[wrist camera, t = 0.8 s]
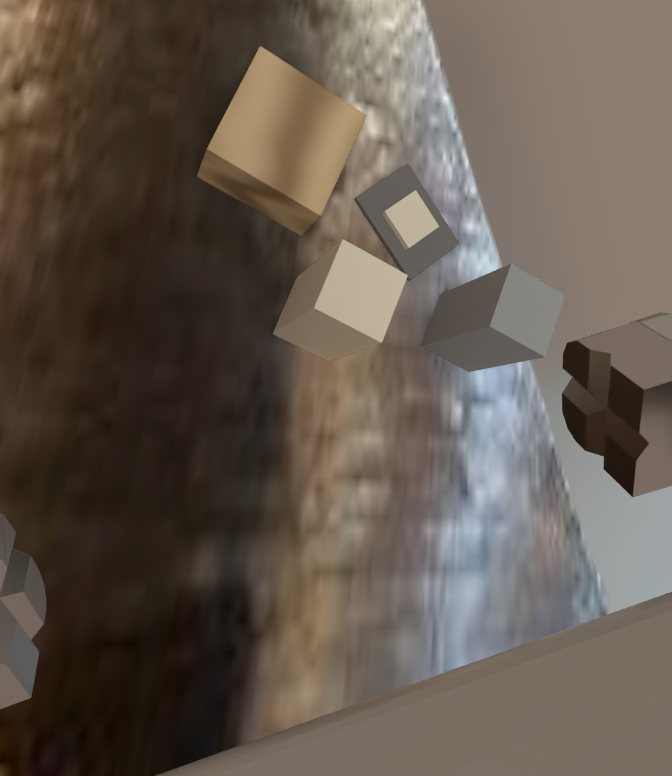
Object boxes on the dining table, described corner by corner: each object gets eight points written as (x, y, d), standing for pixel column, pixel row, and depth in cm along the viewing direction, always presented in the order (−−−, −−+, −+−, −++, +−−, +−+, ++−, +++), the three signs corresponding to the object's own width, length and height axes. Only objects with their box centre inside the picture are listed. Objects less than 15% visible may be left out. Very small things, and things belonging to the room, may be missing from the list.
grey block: (420, 346, 53) (489, 326, 44) (440, 294, 54) (511, 263, 45) (468, 371, 55) (545, 357, 45) (486, 320, 56) (565, 295, 46)
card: (354, 199, 52) (358, 195, 51) (405, 165, 54) (411, 160, 53) (408, 280, 53) (413, 277, 52) (456, 244, 55) (462, 241, 54)
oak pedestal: (196, 177, 48) (206, 148, 43) (245, 83, 50) (260, 45, 45) (300, 237, 50) (320, 215, 46) (342, 144, 52) (366, 115, 48)
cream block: (272, 334, 49) (313, 308, 39) (296, 277, 50) (342, 239, 40) (329, 361, 50) (381, 342, 41) (351, 306, 51) (408, 275, 42)
